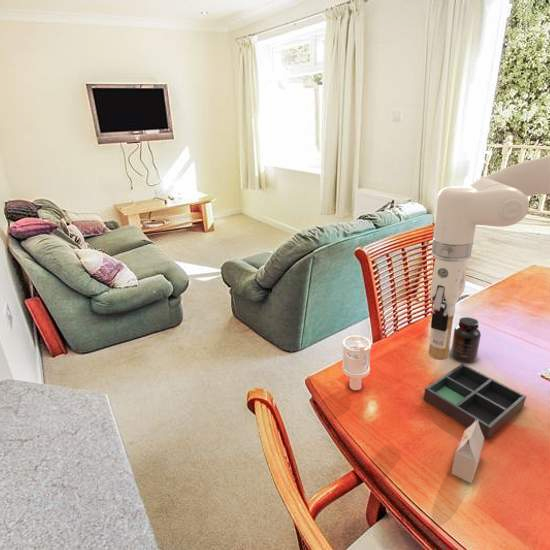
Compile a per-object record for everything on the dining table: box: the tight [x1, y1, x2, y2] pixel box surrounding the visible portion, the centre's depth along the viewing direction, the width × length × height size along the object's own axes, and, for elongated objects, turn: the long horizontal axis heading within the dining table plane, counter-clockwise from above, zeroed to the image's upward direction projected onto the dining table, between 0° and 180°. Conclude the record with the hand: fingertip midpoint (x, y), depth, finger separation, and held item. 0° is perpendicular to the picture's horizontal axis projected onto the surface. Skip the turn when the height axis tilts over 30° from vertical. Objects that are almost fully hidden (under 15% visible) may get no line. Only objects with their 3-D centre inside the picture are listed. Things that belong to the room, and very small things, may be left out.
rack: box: [423, 363, 527, 441], centre depth 92 cm, size 16×16×4 cm
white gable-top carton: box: [451, 420, 485, 484], centre depth 74 cm, size 4×7×10 cm, turn 141°
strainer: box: [341, 334, 372, 391], centre depth 97 cm, size 7×7×15 cm
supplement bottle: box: [450, 316, 481, 364], centre depth 107 cm, size 7×7×12 cm
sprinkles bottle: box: [427, 303, 456, 361], centre depth 85 cm, size 5×5×14 cm
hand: (442, 323), depth 85 cm, fingers closed on sprinkles bottle, 4 cm apart
